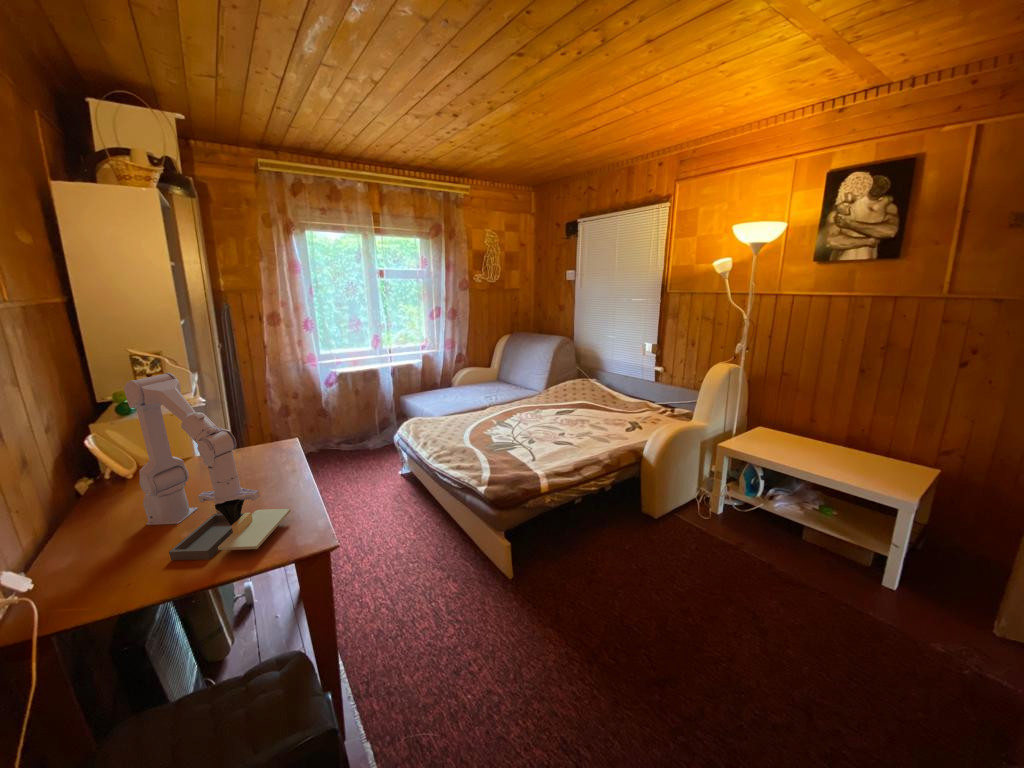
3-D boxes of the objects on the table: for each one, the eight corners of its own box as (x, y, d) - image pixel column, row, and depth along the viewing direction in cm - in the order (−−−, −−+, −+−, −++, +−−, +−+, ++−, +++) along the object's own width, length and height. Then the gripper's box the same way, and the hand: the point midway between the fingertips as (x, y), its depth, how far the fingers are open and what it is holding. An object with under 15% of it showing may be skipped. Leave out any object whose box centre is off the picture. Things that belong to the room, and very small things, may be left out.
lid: (218, 550, 104) (215, 538, 103) (257, 512, 120) (254, 501, 119) (257, 548, 104) (254, 537, 103) (290, 511, 120) (288, 500, 119)
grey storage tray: (171, 560, 105) (168, 551, 104) (216, 521, 121) (214, 513, 120) (209, 559, 105) (207, 550, 104) (249, 520, 121) (247, 512, 120)
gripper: (184, 486, 104) (197, 533, 108) (243, 484, 104) (254, 532, 107) (204, 472, 111) (216, 518, 114) (259, 471, 111) (269, 516, 114)
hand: (235, 523), depth 111 cm, fingers closed
